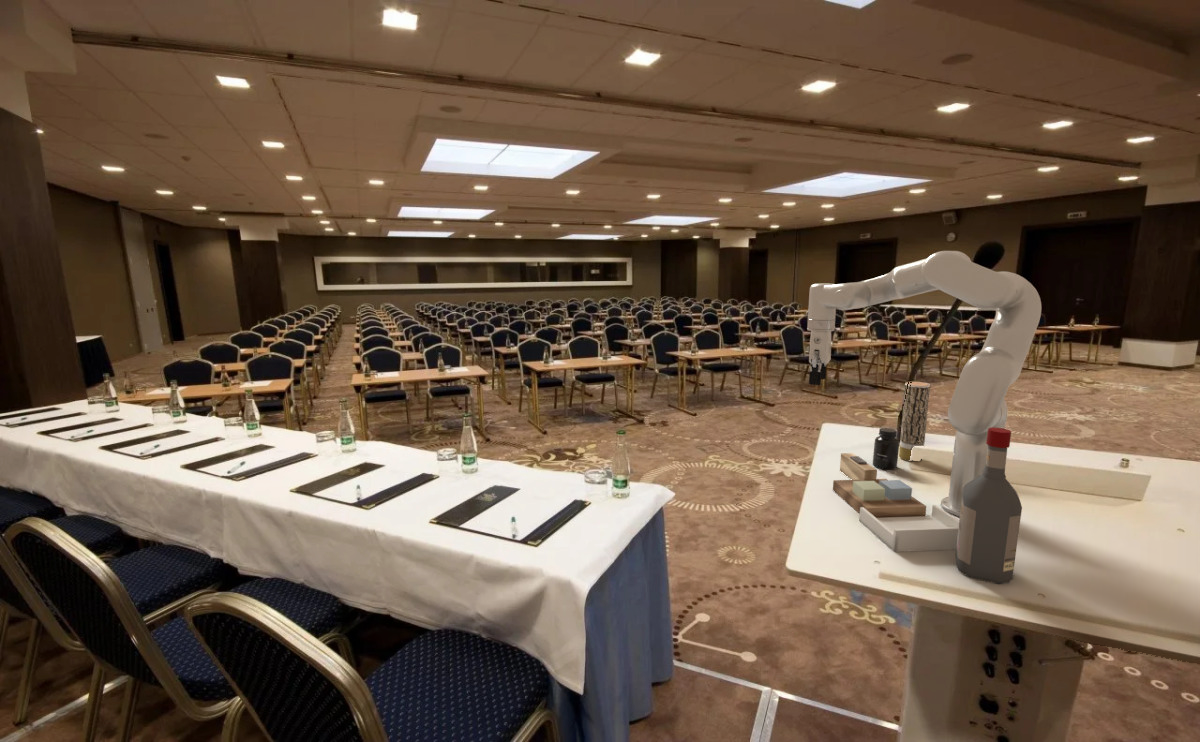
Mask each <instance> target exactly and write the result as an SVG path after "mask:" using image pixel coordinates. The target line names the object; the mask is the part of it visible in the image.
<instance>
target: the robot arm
mask: <svg viewBox="0 0 1200 742" xmlns="http://www.w3.org/2000/svg"><path fill="white" fill-rule="evenodd" d="M938 290H939V291H941V292H943V293H945V294H948V295H950V296H952V297H954V298H956V299H958V300H960V301H962V302H965V303H967V304H969V305H971V306H973V307H976V308H978V309H982V310H986V311H991V310H995V316H994V319H993V321H992V323H991V324H990V325H991V326H990V327H989V331H988V333H987V336H986V339H985V341H984V343H983V346H982V348H981V349H980V352H978V353H976V354H975V355H972V357H970V358H969V359H968V360H967V362H965V365H964V366H963V368H962V370H961V372H960V375H959V378H958V381H957V383H956V386H955V389H954V391H953V394H952V397H951V399H950V403H949V405H948V409H947V418H948V422H949V423H950V425H951V427H952V428H954V430H956V431H955V438H954V443H953V444H954V446H953V452H952V453H953V454H952V461H951V472H950V482H949V492H948V496H946V497H943V498H941V500H940V506H941V507H942V508H941V509H943V510H944V511H946V512H947V513H949V514H950V515H954V516H957V517H959V518H960V511H961V502H962V493H963V488H964V486H965V485H966V484H967V483H968V482H970V481H972V480H973V479H975V478H976V477H978V476H980V475H981V474H983V470H984V468H985V463H986V456H987V448H988V445H987V444H986V441H987V434H988V429H989V428H992V427H994V428H1003V429H1006V425H1007V419H1008V413H1009V412H1008V410H1009V409H1008V404H1007V402H1006V400H1005V397H1006V395H1007V393H1008V389H1009V387H1010V386H1011V385H1012V384H1013V383H1015V382H1016V381H1017V380H1018V379H1019V377H1020V375H1021V372H1022V370H1023V366H1024V363H1025V360H1026V358H1027V356H1028V353H1029V350H1030V349H1031V345H1032V343H1033V340H1034V337H1035V334H1036V331H1037V330H1038V329H1037V328H1038V327H1039V324H1040V319H1041V316H1042V301H1041V297H1040V295H1039V292H1038V291H1037V289H1036V288H1035V286H1033V284H1032V283H1031V282H1030V281H1028V280H1027V279H1026V278H1025V277H1023V276H1021V275H1019V274H1017V273H1014V272H1010V271H994V270H993V269H990V268H988V267H985V266H982V265H980V264H978V263H975V262H973V261H972V260H971V258H970V256H968V255H967V254H966V253H964V252H962V251H958V250H941V251H937V252H934V253H932V254H931V255H929V256H928V257H927V258H923V259H920V260H917V261H913V262H909V263H906V264H901V265H899V266H895V267H894V268H893V269H892V270H891V271H890V272H888V273H885V274H884V275H883V274H882V275H880V276H877V277H874V278H870V279H866V280H861V281H857V282H856V281H855V282H846V283H844V282H843V283H837V284H835V283H825V282H823V283H822V282H821V283H814V284H811V285H810V287H809V297H808V310H807V311H808V312H807V328H806V329H807V331H810V337H809V352H808V353H809V357H808V362H809V363H810V368H809V375H808V384H809V385H810V386H811V385H812V386H821V384H822V380H825V379H826V378H827V377H826V376H827V365H828V364H829V362H830V361H831V359H832V358H831V356H832V332H834V331H835V329H836V326H835V325H836V314H837V313H836V312H837V310H839V311H849V310H853V309H854V310H855V309H861V308H862V309H863V308H867V307H870V306H873V305H879V304H883V303H886V302H890V301H895V300H901V299H906V298H910V297H913V296H918V295H921V294H925V293H929V292H934V291H938Z"/></svg>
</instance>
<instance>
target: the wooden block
mask: <svg viewBox="0 0 1200 742" xmlns="http://www.w3.org/2000/svg"><path fill="white" fill-rule="evenodd" d="M839 461H840V463H839V464H840V465H839V472H840V471H841V472H843V473H844V474H845V475H846V476H848V477H849V478H850V479H852V480H862V479H878V478H877V476H878V468H876V467H875V466H873V465H871V464H870V463H868V461H866V460H865V459H863V458H861V457H860V455H859V456H858V455H856V454H855V453H852V452H847V453H846V452H844V453H843V452H842V453H840V460H839ZM841 472H840V473H841ZM844 474H843V475H844ZM845 475H844V476H845ZM846 476H845V477H846ZM848 477H847V478H848ZM849 478H848V479H849ZM850 479H849V480H850Z"/></svg>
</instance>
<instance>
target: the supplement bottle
mask: <svg viewBox="0 0 1200 742" xmlns="http://www.w3.org/2000/svg"><path fill="white" fill-rule="evenodd" d="M897 433H898V431H897V430H896V429H894V428H889V427H880V428H879V432H878V436H877V437H876V438H874V445H873V453H872V454H873V455H872V466H873V467H874V468H876V469H881V470H884V469H885V471H890V470H891V471H892V470H896V469H897V467H898V461H899V450H900V441H899V440H898V439H897V437H898V434H897Z"/></svg>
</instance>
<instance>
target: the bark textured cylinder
mask: <svg viewBox="0 0 1200 742" xmlns="http://www.w3.org/2000/svg"><path fill="white" fill-rule="evenodd" d="M908 382H909V384H908ZM910 382H912V383H910ZM907 384H908V389H907ZM910 385H911V386H910ZM906 389H907V394H906ZM930 391H931V384H930V383H928V382H923V381H906V382H905V384H904V392H903V393H904V395H903V404H904V406H903V405H902V406H903V408H902V416H901V417H902V418H901V426H900V427H901V428H900V430H901V431H900V439H899V440H900V441H899V452H898V457H899V458H900V459H902V460H904V461H908V462H910V461H909V460H910V456H911V450H912V448H913V447H914V446H924V447H925V441H926V432H927V431H926V430H927V421H928V420H927V419H928V410H929V402H930V401H929V399H930ZM909 393H910V394H909ZM905 395H906V399H905ZM904 400H905V402H904ZM908 401H909V403H908Z"/></svg>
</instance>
